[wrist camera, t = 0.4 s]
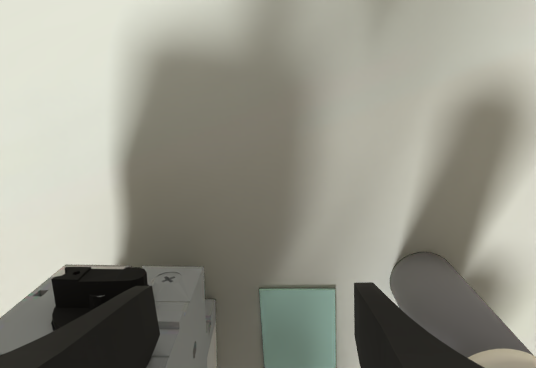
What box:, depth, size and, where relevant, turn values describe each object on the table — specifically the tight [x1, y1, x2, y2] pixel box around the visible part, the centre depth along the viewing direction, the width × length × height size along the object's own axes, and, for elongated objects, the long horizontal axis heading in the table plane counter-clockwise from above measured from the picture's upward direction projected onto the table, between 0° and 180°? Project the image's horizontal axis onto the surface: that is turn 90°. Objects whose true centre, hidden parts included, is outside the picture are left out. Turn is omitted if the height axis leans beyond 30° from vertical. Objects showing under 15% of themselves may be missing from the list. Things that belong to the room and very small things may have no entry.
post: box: [390, 252, 536, 368], centre depth 17 cm, size 4×4×9 cm
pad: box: [259, 288, 336, 368], centre depth 24 cm, size 9×5×1 cm, turn 3°
